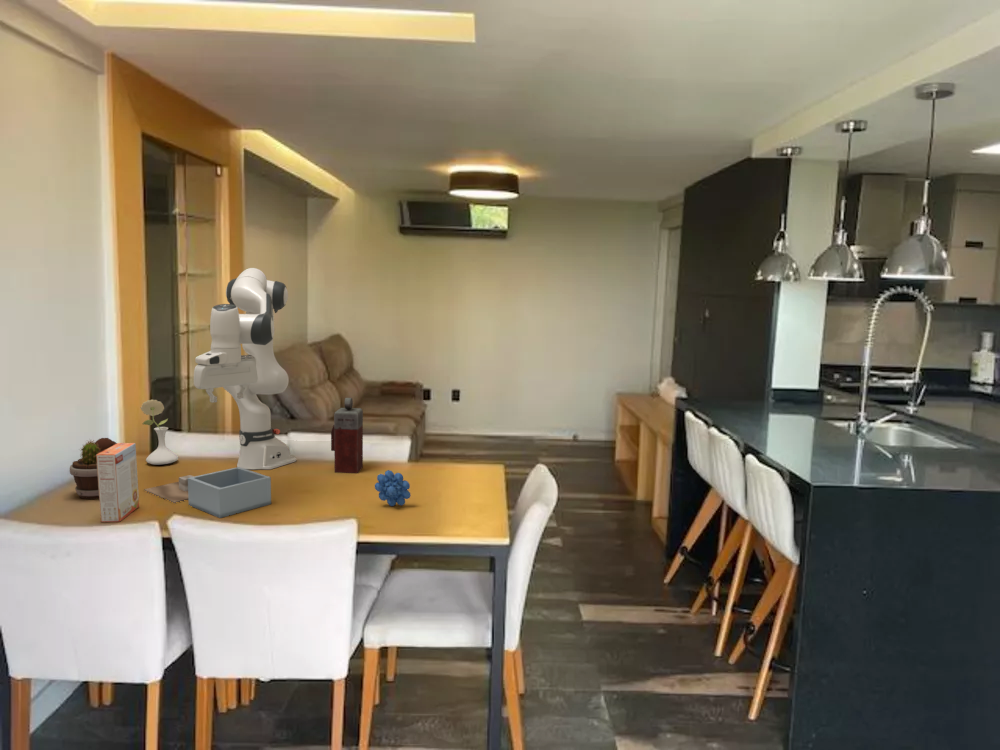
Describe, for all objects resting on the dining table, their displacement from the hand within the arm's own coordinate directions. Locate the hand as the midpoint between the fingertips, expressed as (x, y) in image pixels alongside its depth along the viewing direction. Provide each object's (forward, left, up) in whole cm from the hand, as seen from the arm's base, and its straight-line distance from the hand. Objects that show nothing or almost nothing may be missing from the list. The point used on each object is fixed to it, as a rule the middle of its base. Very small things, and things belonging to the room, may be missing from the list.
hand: (227, 400), depth 222 cm
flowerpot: (+23, -41, -34) cm, 58 cm away
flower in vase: (-10, -64, -34) cm, 73 cm away
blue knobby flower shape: (-33, +40, -34) cm, 62 cm away
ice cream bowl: (+12, -57, -34) cm, 68 cm away
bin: (0, 0, -34) cm, 34 cm away
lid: (+1, -24, -35) cm, 42 cm away
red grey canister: (-52, -5, -34) cm, 63 cm away
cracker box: (+27, -16, -34) cm, 47 cm away
